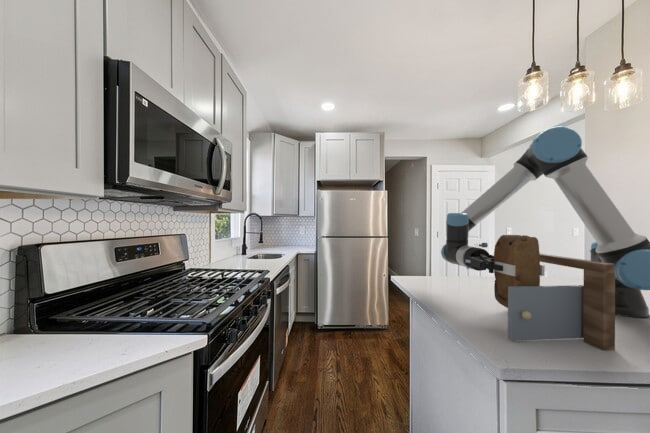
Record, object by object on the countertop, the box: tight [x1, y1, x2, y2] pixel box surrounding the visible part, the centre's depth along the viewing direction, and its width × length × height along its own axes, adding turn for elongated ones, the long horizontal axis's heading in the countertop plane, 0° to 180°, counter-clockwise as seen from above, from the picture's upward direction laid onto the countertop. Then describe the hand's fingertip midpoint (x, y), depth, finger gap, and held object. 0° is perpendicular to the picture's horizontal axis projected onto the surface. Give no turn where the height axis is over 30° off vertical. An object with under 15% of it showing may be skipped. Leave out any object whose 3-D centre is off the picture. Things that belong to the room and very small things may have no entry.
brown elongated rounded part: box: [493, 234, 541, 309], centre depth 77 cm, size 11×8×20 cm
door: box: [507, 284, 584, 342], centre depth 68 cm, size 21×3×13 cm, turn 96°
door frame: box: [539, 252, 616, 351], centre depth 78 cm, size 3×28×20 cm, turn 6°
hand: (528, 270), depth 72 cm, fingers closed on brown elongated rounded part, 8 cm apart
